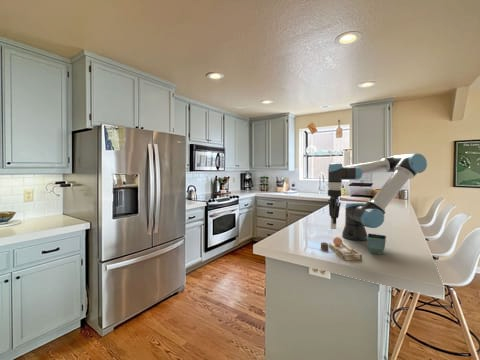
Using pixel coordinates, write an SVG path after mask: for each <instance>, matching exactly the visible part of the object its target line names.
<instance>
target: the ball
mask: <svg viewBox="0 0 480 360" xmlns="http://www.w3.org/2000/svg"><path fill="white" fill-rule="evenodd" d="M332 242H333V243H332V244H333V245H336V246H340V245H342V243H343V239H342V238H341V237H339V236H336V237H334V238H333V241H332Z"/></svg>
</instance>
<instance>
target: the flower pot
mask: <svg viewBox="0 0 480 360" xmlns="http://www.w3.org/2000/svg"><path fill="white" fill-rule="evenodd" d="M386 239H387V235H383V234H377V233H368V232H367V240H366V242H367V249H368V250H369V253H371V254H376V255H377V254H378V255H381V254H382V255H383V253H384V250H385V249H386V248H385V247H386V241H387V240H386Z"/></svg>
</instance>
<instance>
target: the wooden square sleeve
mask: <svg viewBox="0 0 480 360" xmlns="http://www.w3.org/2000/svg"><path fill="white" fill-rule="evenodd" d="M320 250H322V251H329V243H328V242H325V241H324V242H323V241H322V242H320Z"/></svg>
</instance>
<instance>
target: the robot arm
mask: <svg viewBox="0 0 480 360" xmlns="http://www.w3.org/2000/svg"><path fill="white" fill-rule="evenodd" d="M427 167H428V163H427V158H426V157H425V155H423V154H421V153H415V152H414V153H413V152H412V153H406V154H405V153H401V154H396V155H392V156H387V157H383V158H381V159H380V160H375V161H369V162H363V163H357V164H350V165H346V166H345V165H344V166H343V164H342V163H329V165H328V170H327V172H328V173H327V174H328V176H327V177H328V178H327V179H328V180H327V181H328V183H327V189H328V190H327V196H328V197H329V199H328V200H327V201H328V209H329V210H328V212H329V217H330V229H331V230H336V229H337V219H338V218H339V216H340V208H341V204H342V203H341V202H340V201H339V200H340V199H339V198H340V197H342V188H343V180H344V181H345V180H347V181H348V180H349V181H352V180H353V181H356V180H357V181H358V180H361V179H362V177H363V176H364V175H371V174H376V173H381V172H383V173H392V174H391V176H390V177H389V178H388V179H387V180H386V182H384V184H383V185H382V187H381V188H380V189H379V190H378V191H377V193H376V194H375V196H374V197H373V198H372V199H370V200H367V201H366V203H364V202H348V203H346V204H345V208H344V209H345V215H344V216H345V221H344V223H345V224H344V227H343V230H342V233H341V236H342V238H344V239H347V240H353V241H367V236H368V232H367V230H366V228H368V229H369V228H370V229H376V228H379V227H380V226H382V225H383V224H384V222H385V214H386V210H385V209H387V207H388V206H389V204H390V203H391V202H392V201H393V199H394V198H395V197H396V195H397V194H398V193H399V191H400V190H401V189H402V188H403V187H404V186H405V184H406V183H408V181H409V180H412V179H414V177H416V175H417V174H421V173H424V172H425V171H426V170H427Z"/></svg>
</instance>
